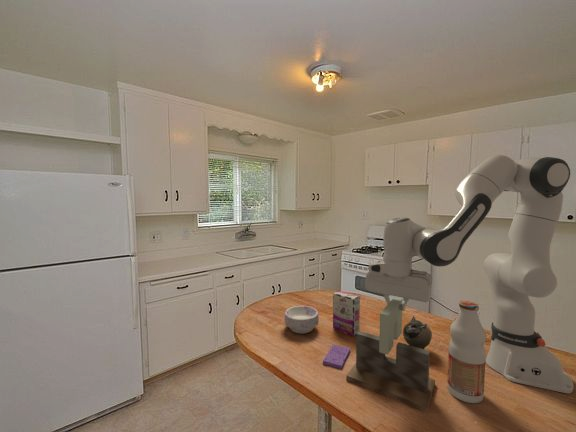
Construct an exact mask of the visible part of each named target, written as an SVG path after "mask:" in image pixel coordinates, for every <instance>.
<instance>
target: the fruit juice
mask: <svg viewBox="0 0 576 432" xmlns="http://www.w3.org/2000/svg"><path fill="white" fill-rule="evenodd" d="M458 308H459V312H458V315H457V316H456V319H455V320H454V321H453V322H451V324H450V327H449V332H450V333H449V334H450V337H451V339H450V341H449V343H448V357H447V358H448V359H447V361H448V362H447V379H446V381H447V382H446V383H447V390H448V391H449V393H450V394H451V395H452V396H453V397H455V398H456V399H457V400H460V401H462V402H464V403H467V404H478V403H481V402H482V401H483V400H484V396H485V378H486V377H485V376H486V375H485V374H486V357H487V355H486V349H485V347H484V346H485V343H486V340H487V333H486V331H485V330H486V329H484V327H483V326H482V324H481V321H480V318H479V314H478V312H479V309H480V308H479V304H478V303H476V302H475V301H474V302H473V301H470V300H469V301H468V300H461V301H459V303H458Z"/></svg>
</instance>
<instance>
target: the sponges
mask: <svg viewBox="0 0 576 432" xmlns="http://www.w3.org/2000/svg"><path fill="white" fill-rule="evenodd" d="M350 353H351V348H350V347H346V346H341V345H336V344H332V345H331V347H330V349H329V350H328V352H327V354H326V355H325V357H324V358H323V360H322V365H326V366H329V367H332V368H333V367H334V368H338V369H340V370H342V369H343V367H344V364H345V362H346V360H347V359H348V357H349V354H350Z"/></svg>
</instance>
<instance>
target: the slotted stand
mask: <svg viewBox="0 0 576 432" xmlns="http://www.w3.org/2000/svg"><path fill="white" fill-rule="evenodd" d="M355 336H356V341H355V342H356V343H355V345H356V348H355V349H356V350H355V351H356V352H355V359H356V360H355V363H354V365H353V366H352V368H350V370H349V371H348V372H347V374H345V375H346V377H345V378H346V381H349V382H351V383H354V384H355V385H358V386H361V387H363V388H366V389H368V390H370V391H374V392H376V393H378V394H380V395H383V396H386V397H387V398H391V399H393V400H396V401H397V402H400V403H403V404H405V405H407V406H411V407H412V408H416V409H418V410H420V411H422V412H425V413H427V412H428V410H429V406H430V404H431V399H432V396H433V393H434V389H435V386H436V379H434V378H430V350H427V349H425V348H424V349H425V350H424V349H421V348H417V347H414V346H410V345H409V344H408V343H407V344H406V343H402V342H397V344H396V347H395V348H396V349H395V358H393V357H390V356H387V355H386V354H383V353H380V352H379V335H375V334H372V333H369V332H365V331H362V330H359V332H358V333H357V334H356V335H355Z"/></svg>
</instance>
